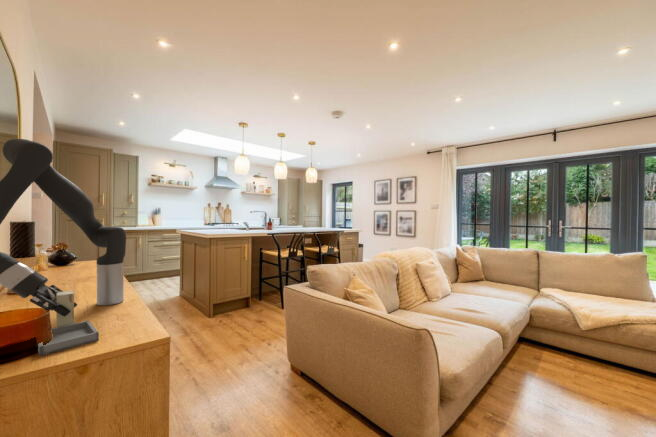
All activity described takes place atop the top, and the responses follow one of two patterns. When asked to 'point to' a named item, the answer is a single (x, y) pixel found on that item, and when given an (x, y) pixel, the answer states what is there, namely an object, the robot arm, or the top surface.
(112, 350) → the top surface
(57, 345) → the tray
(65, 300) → the skincare box
